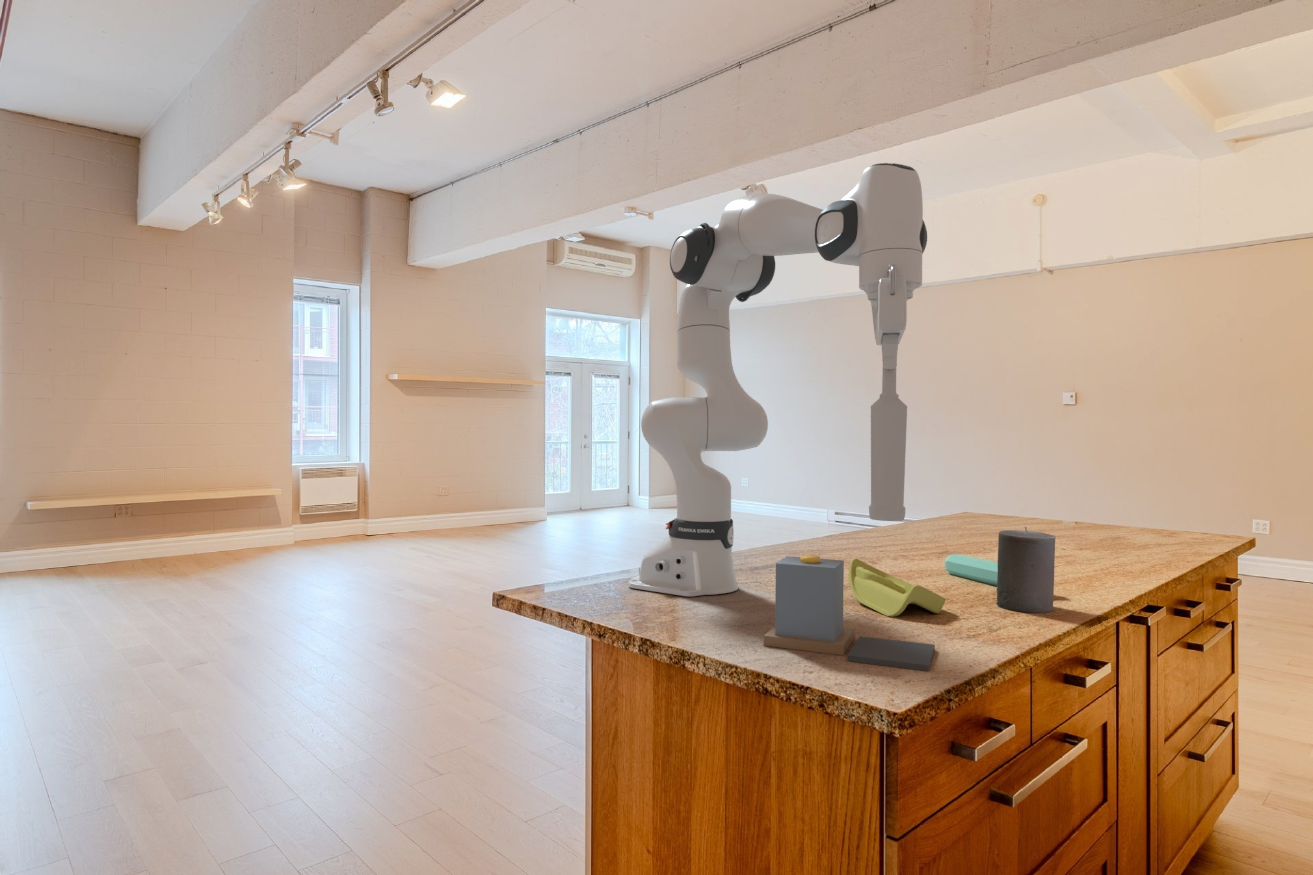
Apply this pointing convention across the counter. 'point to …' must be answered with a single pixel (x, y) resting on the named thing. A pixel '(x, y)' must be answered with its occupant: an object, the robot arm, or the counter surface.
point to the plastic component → (889, 591)
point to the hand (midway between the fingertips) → (889, 370)
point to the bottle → (888, 452)
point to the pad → (892, 653)
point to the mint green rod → (972, 568)
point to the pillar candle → (1025, 571)
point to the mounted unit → (810, 606)
